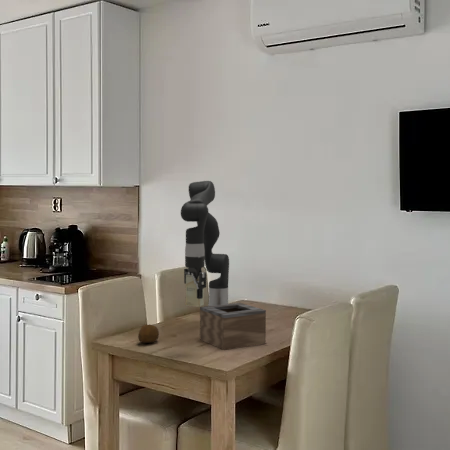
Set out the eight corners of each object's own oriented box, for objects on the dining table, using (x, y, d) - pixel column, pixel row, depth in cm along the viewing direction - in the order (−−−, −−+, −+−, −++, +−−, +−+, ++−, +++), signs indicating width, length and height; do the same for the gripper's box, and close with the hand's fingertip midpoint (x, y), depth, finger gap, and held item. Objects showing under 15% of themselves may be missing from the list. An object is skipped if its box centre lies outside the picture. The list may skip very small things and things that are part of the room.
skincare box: (185, 305, 243) (184, 274, 242) (190, 303, 247) (190, 273, 246) (199, 307, 240) (199, 275, 239) (204, 305, 244) (204, 274, 243)
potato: (162, 339, 266) (162, 321, 265) (153, 347, 254) (153, 328, 253) (144, 338, 267) (144, 321, 267) (134, 346, 255) (134, 327, 255)
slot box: (200, 339, 266) (200, 306, 265) (239, 334, 276) (240, 302, 275) (224, 349, 249) (224, 315, 248) (265, 343, 259) (265, 310, 258)
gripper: (177, 253, 246) (178, 295, 248) (194, 257, 234) (195, 300, 235) (194, 252, 250) (194, 293, 251) (212, 256, 238) (212, 299, 239)
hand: (194, 296), depth 243 cm, fingers closed on skincare box, 7 cm apart
